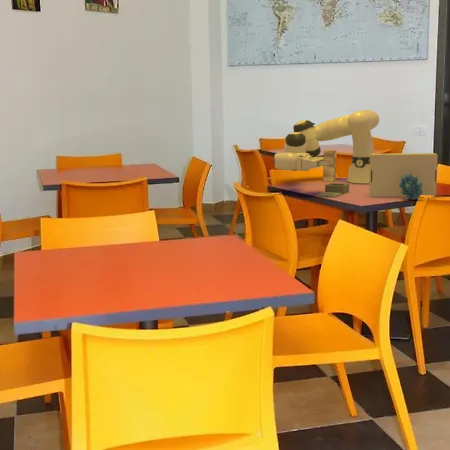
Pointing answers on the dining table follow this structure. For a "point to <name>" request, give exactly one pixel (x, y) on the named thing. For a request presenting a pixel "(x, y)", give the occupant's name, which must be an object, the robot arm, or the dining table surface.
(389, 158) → the packaging
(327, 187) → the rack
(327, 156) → the block
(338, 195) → the mat
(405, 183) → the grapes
